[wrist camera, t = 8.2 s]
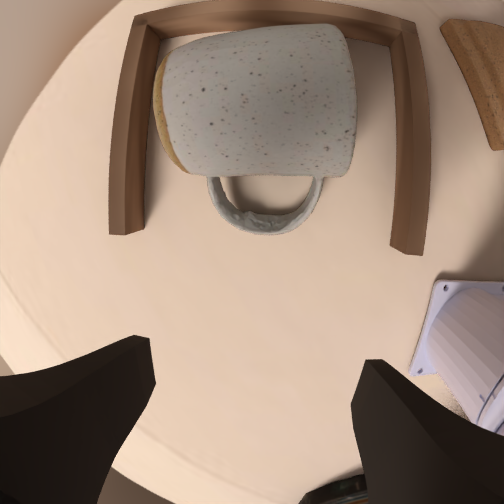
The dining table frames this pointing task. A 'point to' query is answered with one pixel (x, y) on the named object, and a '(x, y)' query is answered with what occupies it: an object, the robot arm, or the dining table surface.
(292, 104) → the ceramic mug
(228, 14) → the walnut dock
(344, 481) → the beer stein
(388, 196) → the dining table surface
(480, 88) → the candle holder
